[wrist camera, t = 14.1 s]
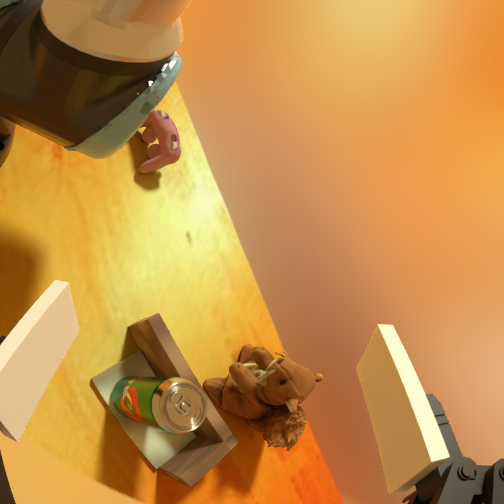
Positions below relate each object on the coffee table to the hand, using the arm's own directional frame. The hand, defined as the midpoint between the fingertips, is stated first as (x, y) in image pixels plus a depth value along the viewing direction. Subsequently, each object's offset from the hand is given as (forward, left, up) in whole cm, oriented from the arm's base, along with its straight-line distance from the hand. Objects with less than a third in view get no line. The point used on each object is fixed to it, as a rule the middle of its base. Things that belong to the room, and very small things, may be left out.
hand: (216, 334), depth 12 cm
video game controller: (-23, +21, -25) cm, 40 cm away
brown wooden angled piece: (+8, +4, -24) cm, 26 cm away
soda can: (+6, +2, -24) cm, 25 cm away
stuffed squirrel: (+16, +16, -25) cm, 33 cm away
